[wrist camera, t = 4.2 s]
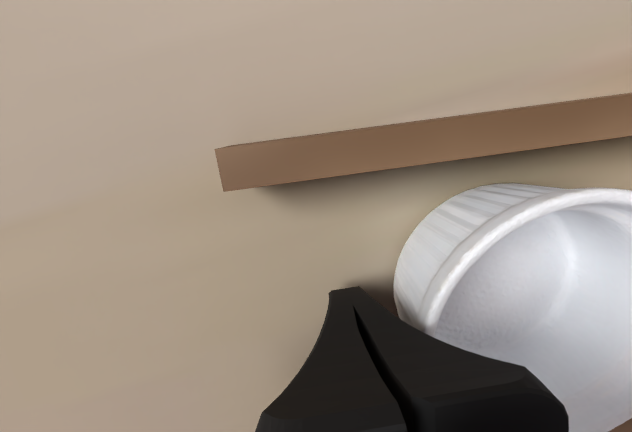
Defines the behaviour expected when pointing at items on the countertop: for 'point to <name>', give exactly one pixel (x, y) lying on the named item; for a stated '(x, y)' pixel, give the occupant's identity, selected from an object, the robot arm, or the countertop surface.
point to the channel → (425, 144)
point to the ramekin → (532, 289)
